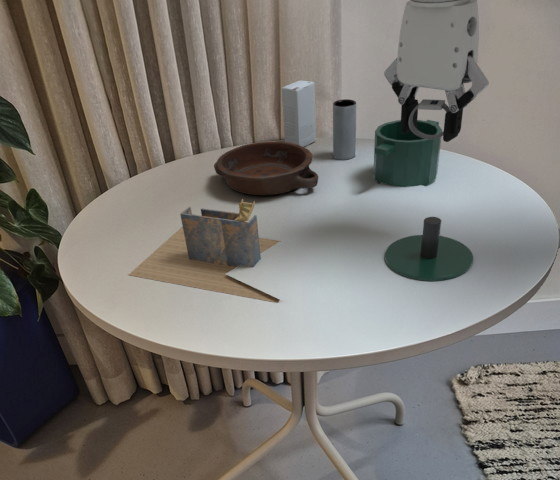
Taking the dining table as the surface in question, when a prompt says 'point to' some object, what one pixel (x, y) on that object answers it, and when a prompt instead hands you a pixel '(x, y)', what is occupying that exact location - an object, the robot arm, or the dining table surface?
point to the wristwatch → (427, 105)
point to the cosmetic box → (299, 113)
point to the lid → (429, 255)
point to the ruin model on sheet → (210, 252)
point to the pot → (406, 154)
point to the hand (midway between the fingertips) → (429, 133)
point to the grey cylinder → (344, 129)
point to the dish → (267, 168)
